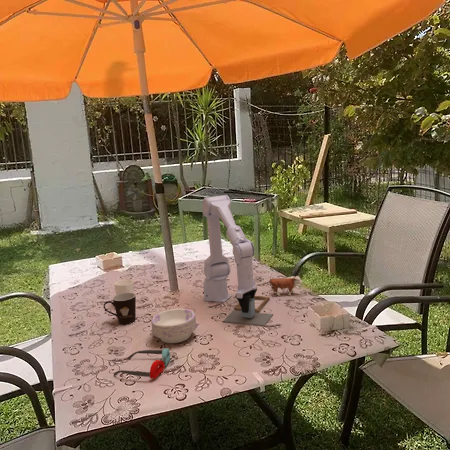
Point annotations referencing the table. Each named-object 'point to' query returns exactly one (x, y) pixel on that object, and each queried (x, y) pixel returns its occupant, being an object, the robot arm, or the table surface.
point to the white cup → (124, 286)
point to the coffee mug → (124, 307)
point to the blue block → (250, 309)
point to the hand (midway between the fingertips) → (247, 310)
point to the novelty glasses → (154, 367)
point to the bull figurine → (284, 284)
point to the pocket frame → (266, 299)
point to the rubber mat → (257, 319)
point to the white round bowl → (174, 325)
